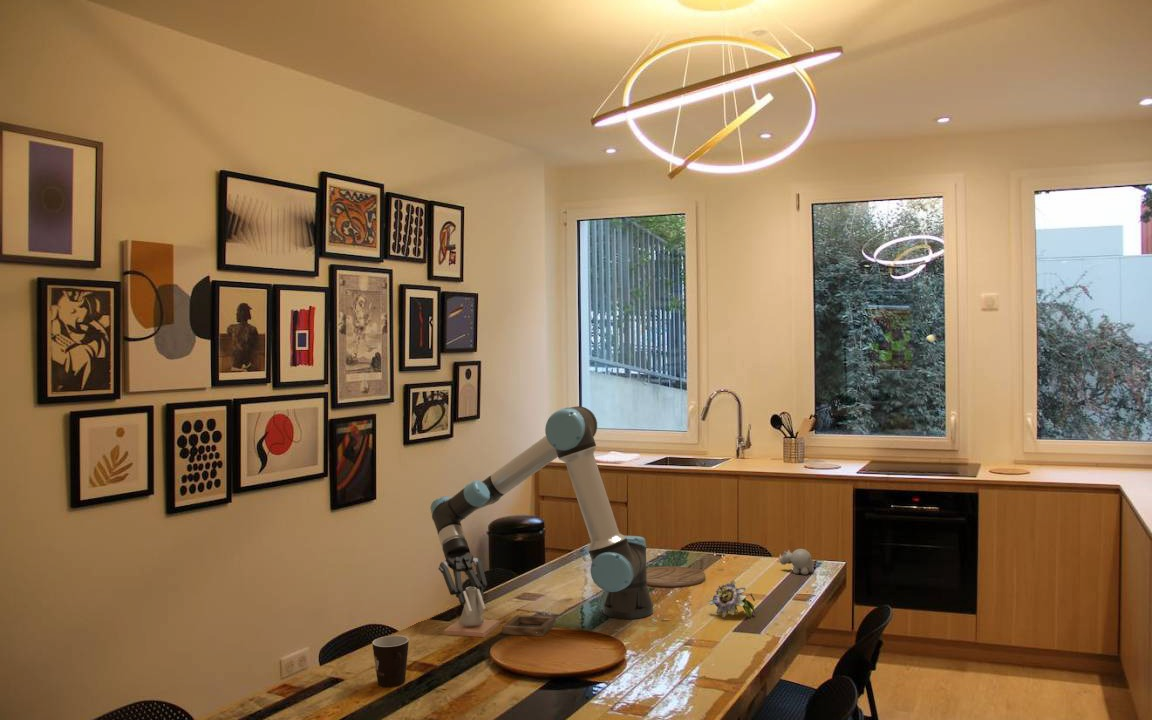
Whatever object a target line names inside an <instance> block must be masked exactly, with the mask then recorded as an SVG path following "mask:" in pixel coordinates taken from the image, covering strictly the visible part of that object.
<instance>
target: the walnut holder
mask: <svg viewBox="0 0 1152 720" xmlns="http://www.w3.org/2000/svg"><path fill="white" fill-rule="evenodd" d="M556 618H557V617H555V616H543V615H529V614H528V615H523V614H515V615H514V616H513V617H512V618H511V619H510V620H508V621H507V622H506V623H505V624H504V625H502V626H501V628H502V629H501V632H502V633H501V634H503V635H515V636H517V635H518V636H530V637H544V636H545V635H546V634H547V633H548V632H549V631H550V630H551V629H553V627H554V626H556V624H557V623H556ZM520 624H524V626H522V625H520ZM525 624H526V625H540V626H538V627H537V626H536V627H535V626H525ZM536 632H537V633H536Z"/></svg>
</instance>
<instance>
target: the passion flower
mask: <svg viewBox="0 0 1152 720" xmlns="http://www.w3.org/2000/svg"><path fill="white" fill-rule="evenodd" d="M746 589H747V588H746V587H745V586H744V587H739V588H737V586H736V581H735V580H734V579H733V580H731V581H730V583H727V584H722V585H721V586H720V585H718V588H717V589H716V590H715V593H716V594H714V595H713V597H712V599H711V600H709V601H708V602H707V604H708V605H714V606H715V607H716V614H721V617H722V618H721V619H724V618H727V616H728V613H729V614H730V615H731V616H734V615H735V614H736V612H739V610H738V608H737V607H742V608H743V610H744V612H745V614H746V616H747V617H748V618H749V619H752V615H753V614H754V615H755V614H756V612H755V611H756V610H755V606H754V605H753V603H752V602H750V601H749V600H747V596H750V597H751V598H752V601H753V602H755V601H756V598H755V597H754V595H753V593H749V594H746V595H745V594H743V593H744V592H745V591H746ZM752 611H753V612H752ZM752 613H753V614H752Z"/></svg>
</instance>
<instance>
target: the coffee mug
mask: <svg viewBox="0 0 1152 720" xmlns="http://www.w3.org/2000/svg"><path fill="white" fill-rule="evenodd" d="M409 641H410V638H408V637H407V636H404V635H385V636H381V637H378V638H375V639H374V640H372V650H373V659H374V666H375V672H376V679H377V685H378V686H379V687H381V688H385V689H387V688H396V687H400V686H402V685H404V684H405V683H406V674H407V666H408V665H407V664H408V663H407V662H408V654H409V653H408V652H409Z"/></svg>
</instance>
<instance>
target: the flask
mask: <svg viewBox="0 0 1152 720" xmlns="http://www.w3.org/2000/svg"><path fill="white" fill-rule="evenodd" d="M465 591H466V594H467V597H468V600H469V603H470V606H471V609H472V612H471V614H470V616H467V614H466V611H465V608H464V607H463V609H462V612H461V615H460V618H459V619H460V621H459V624H461V625H466V626H471V625H479V624H481V623H483V620H484V617H483V614H481V613H480V610H479V607H478V604H477V600H476V594H475V592H476V587H473V586H468V587H465Z"/></svg>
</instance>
